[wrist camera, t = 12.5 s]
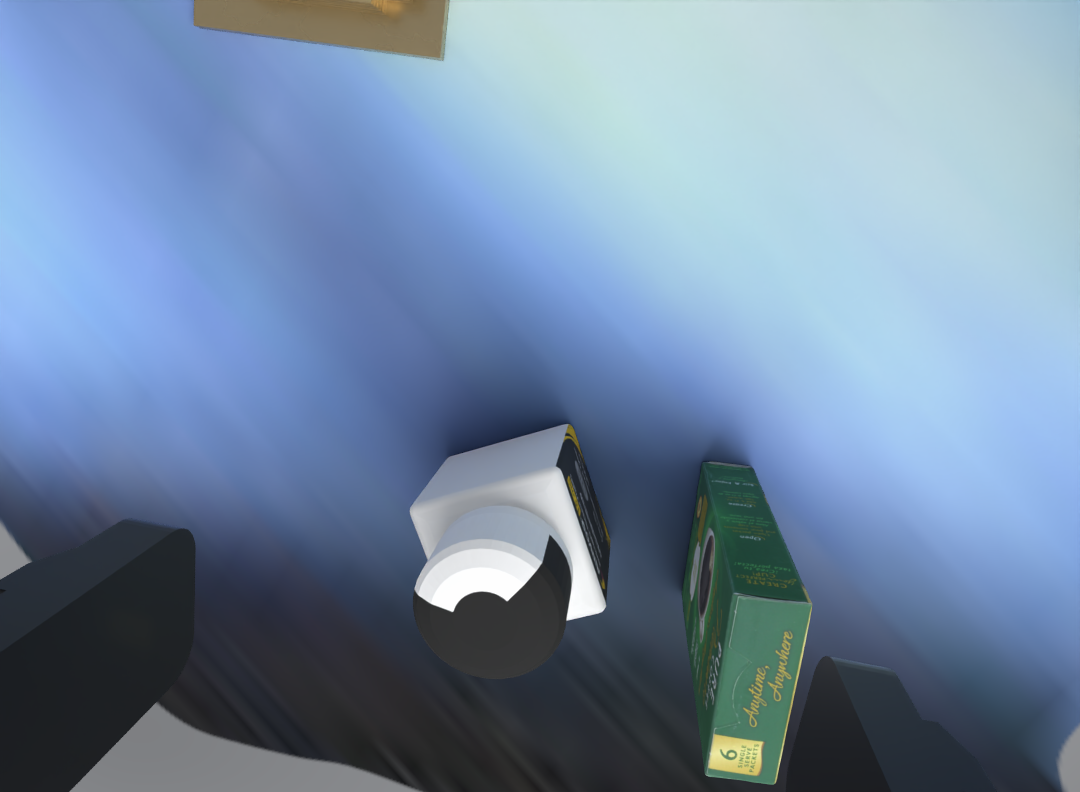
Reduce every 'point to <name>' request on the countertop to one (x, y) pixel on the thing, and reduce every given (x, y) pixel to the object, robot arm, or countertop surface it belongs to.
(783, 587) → the coffee box
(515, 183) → the countertop surface
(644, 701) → the countertop surface
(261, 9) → the collar
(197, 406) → the countertop surface
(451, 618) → the medicine bottle
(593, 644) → the countertop surface
